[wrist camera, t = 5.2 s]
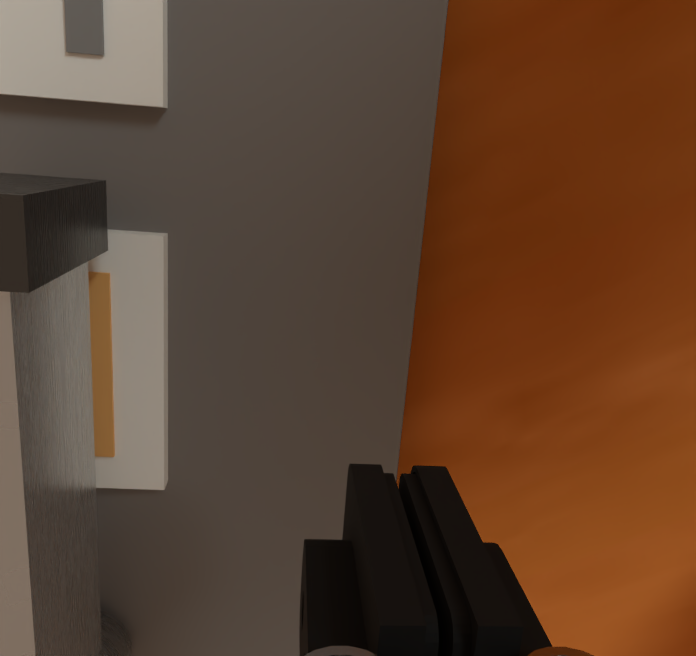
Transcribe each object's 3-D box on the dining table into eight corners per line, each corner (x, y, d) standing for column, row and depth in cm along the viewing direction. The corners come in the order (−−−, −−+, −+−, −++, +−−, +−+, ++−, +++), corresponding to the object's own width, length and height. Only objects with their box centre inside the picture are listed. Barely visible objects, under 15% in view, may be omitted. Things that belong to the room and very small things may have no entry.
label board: (-374, -359, 13) (-494, -447, 11) (463, -248, 15) (487, -309, 13) (-185, 651, 21) (-239, 707, 18) (368, 659, 22) (375, 711, 20)
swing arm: (-7, 168, 15) (-171, 181, 10) (122, 177, 15) (29, 195, 10) (31, 687, 19) (-69, 887, 14) (133, 688, 20) (70, 884, 14)
